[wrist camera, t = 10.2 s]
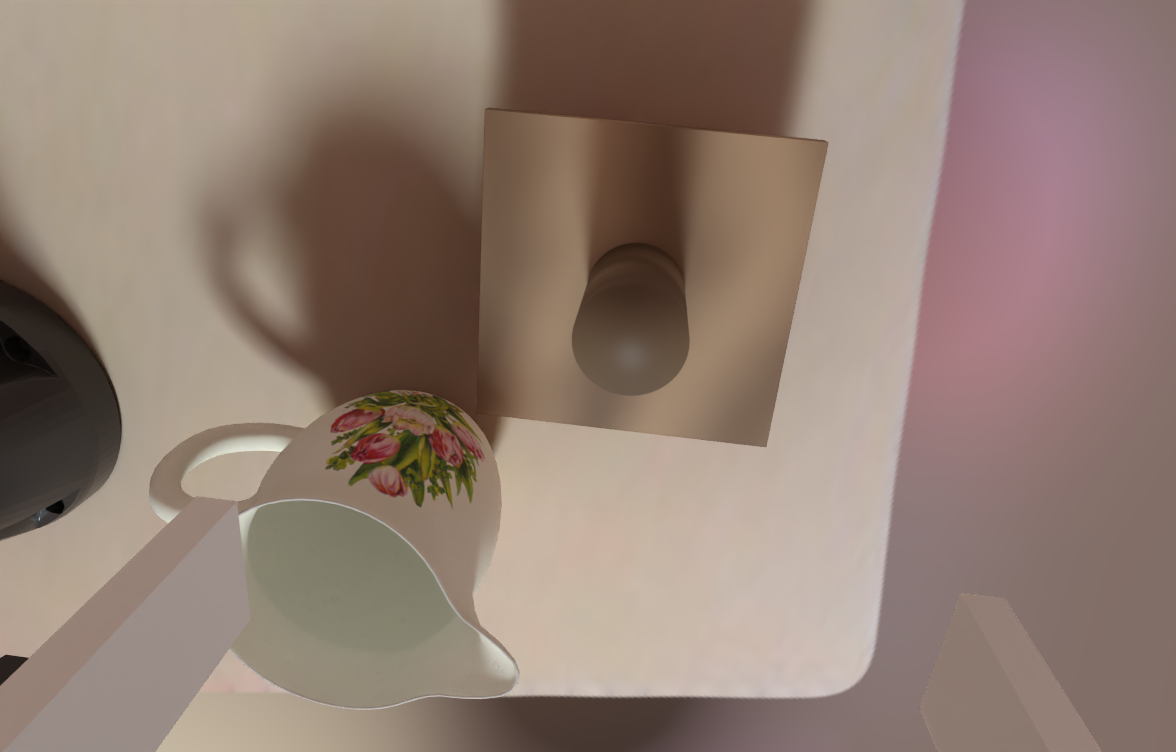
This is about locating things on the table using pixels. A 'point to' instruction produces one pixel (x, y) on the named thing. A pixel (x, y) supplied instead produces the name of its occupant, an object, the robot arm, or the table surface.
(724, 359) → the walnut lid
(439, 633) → the pitcher
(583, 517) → the table surface
